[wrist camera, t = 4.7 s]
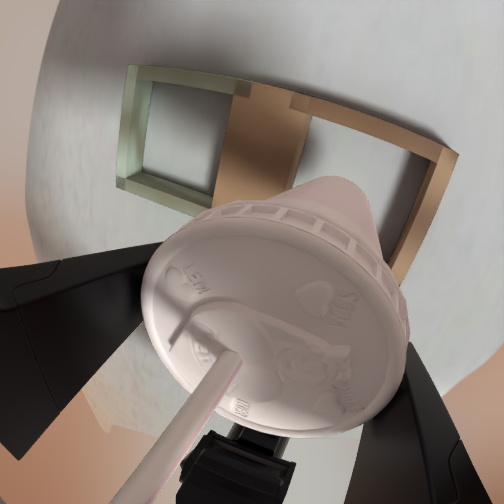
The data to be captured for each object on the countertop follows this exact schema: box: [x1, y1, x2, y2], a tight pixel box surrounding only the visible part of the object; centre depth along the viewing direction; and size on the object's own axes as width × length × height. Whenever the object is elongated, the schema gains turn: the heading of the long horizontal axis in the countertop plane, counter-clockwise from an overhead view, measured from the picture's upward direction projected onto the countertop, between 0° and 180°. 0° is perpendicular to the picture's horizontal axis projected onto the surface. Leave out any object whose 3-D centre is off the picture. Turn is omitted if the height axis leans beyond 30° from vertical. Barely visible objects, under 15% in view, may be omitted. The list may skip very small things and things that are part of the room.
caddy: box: [116, 65, 459, 287], centre depth 20 cm, size 10×22×2 cm, turn 76°
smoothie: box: [109, 176, 410, 504], centre depth 9 cm, size 6×6×14 cm
